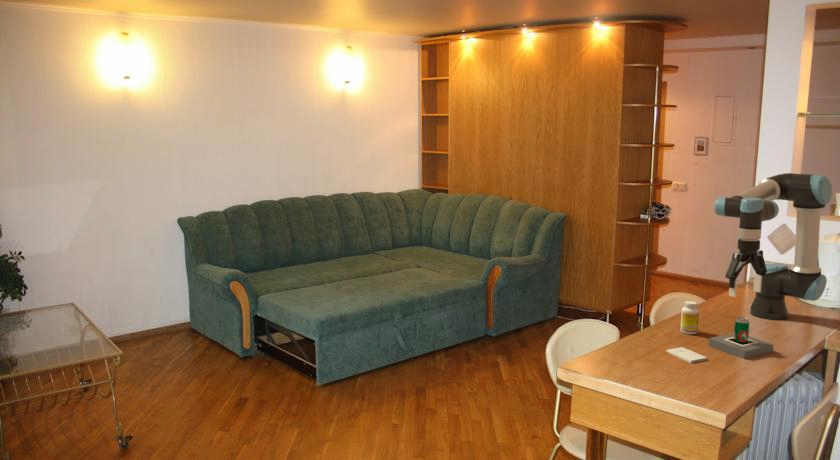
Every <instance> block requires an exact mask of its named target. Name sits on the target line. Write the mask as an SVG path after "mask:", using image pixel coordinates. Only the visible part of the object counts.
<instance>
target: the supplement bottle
mask: <svg viewBox="0 0 840 460" xmlns="http://www.w3.org/2000/svg"><path fill="white" fill-rule="evenodd" d="M697 306H698V303H697V302H696V301H692V300H686V301H684V306H683V307H682V308H681V314H680V315H681V316H680V333H682V334H685V335H696V334H697V333H698V331H699V316H700V315H699V313H700V311H699V309H698V308H697Z"/></svg>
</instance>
